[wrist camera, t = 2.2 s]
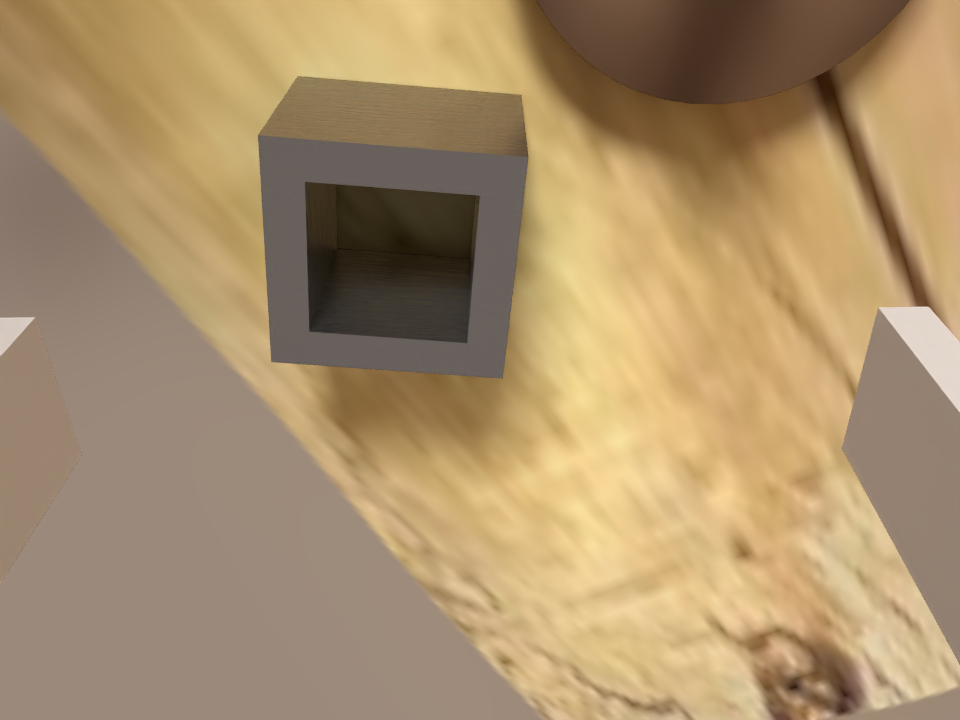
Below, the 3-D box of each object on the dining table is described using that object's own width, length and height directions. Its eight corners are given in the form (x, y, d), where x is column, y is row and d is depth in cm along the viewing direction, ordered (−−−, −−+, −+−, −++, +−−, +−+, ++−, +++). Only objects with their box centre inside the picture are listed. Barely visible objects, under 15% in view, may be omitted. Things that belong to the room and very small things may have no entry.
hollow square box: (304, 275, 33) (271, 361, 28) (298, 76, 29) (258, 135, 24) (500, 290, 33) (502, 378, 28) (521, 95, 29) (528, 157, 24)
